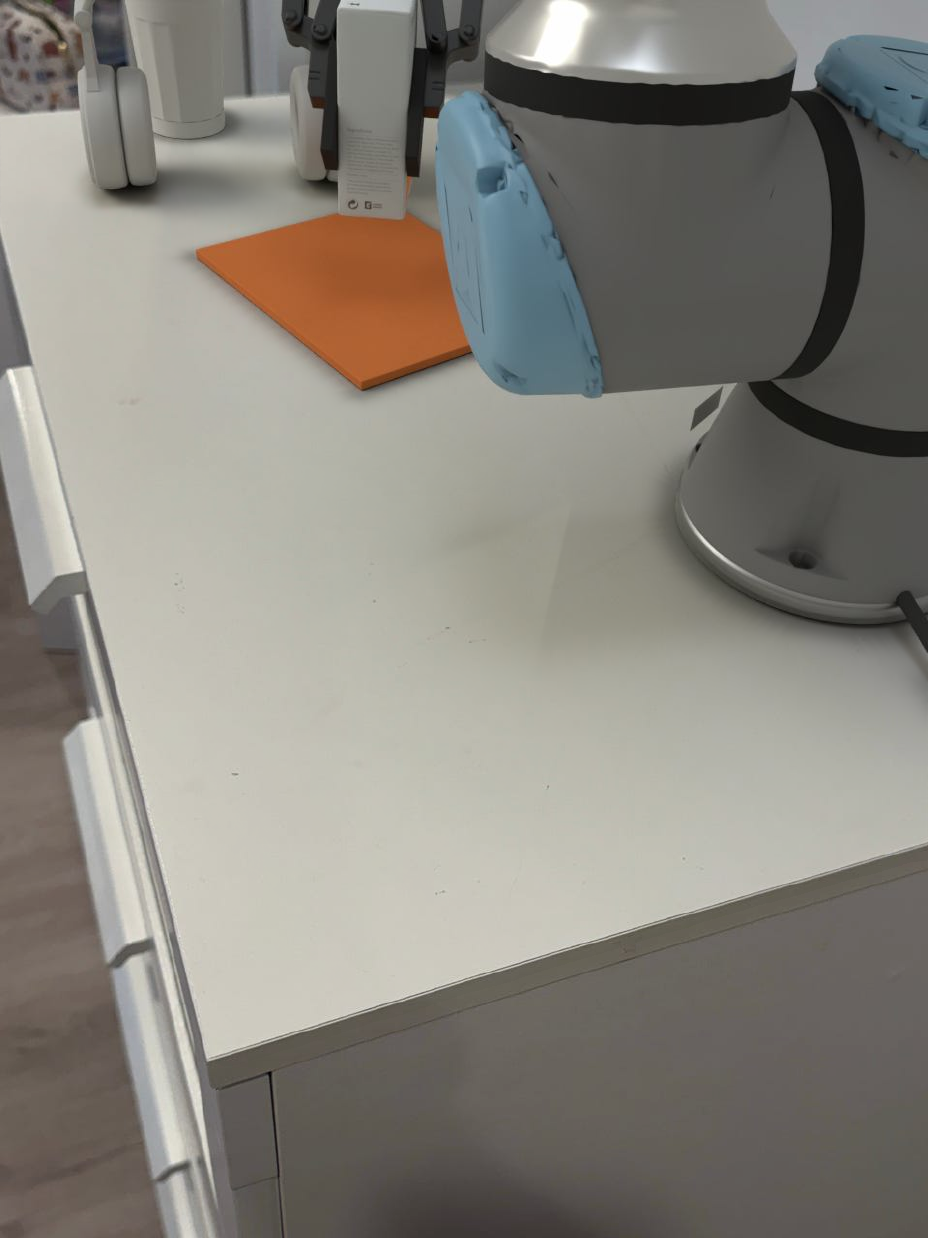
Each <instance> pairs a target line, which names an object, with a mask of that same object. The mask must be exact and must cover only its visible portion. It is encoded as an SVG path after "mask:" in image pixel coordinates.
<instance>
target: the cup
mask: <svg viewBox="0 0 928 1238" xmlns="http://www.w3.org/2000/svg"><path fill="white" fill-rule="evenodd" d="M124 3H125V9H126V13H127V18H128V25H129V29H130V34H131V40H132V45H133V49H134V54H135V60H136V65H137V66H136V67H137V68H140V69H141V70H142V71H143V72H144V74H145V76H146V79H147V85H148V93H149V101H150V109H151V118H152V127H153V133H154V134H157V135H159V136H163V137H167V138H172V139H181V140H182V139H183V140H185V139H186V140H189V139H191V140H192V139H202V138H207V137H210V136H214V135H216V134H218V133H220V132H222V131H223V130H224V129H225V127H226V114H225V68H224V67H225V65H224V64H225V60H224V59H225V55H224V54H225V52H224V51H225V49H224V48H225V47H224V46H225V44H224V42H225V38H224V37H225V34H224V33H225V31H224V30H225V29H224V23H225V22H224V19H225V18H224V14H225V0H124Z"/></svg>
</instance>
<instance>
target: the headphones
mask: <svg viewBox="0 0 928 1238" xmlns="http://www.w3.org/2000/svg"><path fill="white" fill-rule="evenodd" d="M95 1H96V0H74V7H73V8H74V9H73V22H74V24H75V26H76V27H77V28H79V29H80V35H81V36H80V37H81V43H82V52H83V53H82V54H83V59H84V60H83V61H84V65H83V66H82V68H81V69H80V70H78V71H77V91H78V93H77V94H78V104H79V115H80V123H81V129H82V138H83V143H84V151H85V155H86V161H87V165H88V166H87V167H88V171H89V176H90V179H91V182H92V183H93V184H94V185H96V186H97V187H98V188H99V189H104V190H118V189H123V188H126V187H127V186H128V183H131V185H132V186H137V187H138V186H140V187H141V186H149V185H153V184H154V183H156V181H157V177H158V168H157V167H158V166H157V155H156V147H155V146H156V145H155V137H154V132H153V127H152V118H151V109H150V101H149V93H148V85H147V79H146V76H145V74H144V72H143V71H142V70H141V69H140V68H138V67H137V66H136V67H135V66H120V67H118V68H117V70H116V72H115V69H114V68H113V66H112V65H109V64H105V63H104V64H103V63H99V59H98V55H97V49H96V44H95V38H94V32H93V26H92V25H93V10H94V7H93V6H94V5H93V4H94V3H95ZM308 74H309V64H302V65H298V66H295V67H294V68H293V69H292V71H291V75H290V80H289V113H290V115H289V116H290V129H291V140H292V150H293V156H294V161H295V167H296V170H297V172H298V175H299V176H300V178H301V179H303V180H306V181H321V180H324V179H325V178H327V180H328V181H330V182H335V183H338V171H336V170H325V167H324V163H323V159H322V156H321V152H320V145H321V133H322V122H323V110H324V109H317V108H313V107H312V104H311V101H310V97H309V93H308V89H307V85H308Z"/></svg>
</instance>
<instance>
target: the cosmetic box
mask: <svg viewBox="0 0 928 1238" xmlns="http://www.w3.org/2000/svg"><path fill="white" fill-rule="evenodd" d="M418 4H419V1H418V0H341V1H340V4H339V6H338V9H337V86H338V90H337V93H338V182H337V189H338V190H337V192H338V193H337V195H338V199H337V200H338V203H337V205H338V211H337V213H339V214H340V215H343V216H354V217H369V218H382V219H394V220H403V219H404V218H405V212H407V211H406V210H407V205H408V198H409V195H410V191H411V188H412V183H413V177H408V176H407V172H406V162H405V152H406V140H407V128H408V116H409V104H410V92H411V80H412V68H413V56H414V47H415V48H417V39H418V38H417V37H418Z"/></svg>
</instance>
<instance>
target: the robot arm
mask: <svg viewBox="0 0 928 1238" xmlns="http://www.w3.org/2000/svg"><path fill="white" fill-rule="evenodd" d="M340 1H341V0H319V2H318V4H317V8H316V10H315V14H314V17H311V16H309V15H310V14H309V12H310V0H281V11H280V12H281V14H280V15H281V16H280V17H281V21H282V26H283V28H284V32H285V36H286V40H287V42H288V43H289V45H290V46H291V47H293V48H304V49H306V50H307V51H308V52H309V63H308V65H309V74H308V85H307V89H308V93H309V97H310V101H311V104H312V107H313V108H317V109H324V110H323V122H322V133H321V145H320V152H321V156H322V159H323V163H324V167H325V170H336V171H338V93H337V90H338V86H337V9H338V6H339V4H340ZM419 3H420V8H421V9H420V10H421V18H422V25H423V33H424V40H425V47H416V48H415V47H414V56H413V68H412V80H411V92H410V104H409V116H408V128H407V140H406V152H405V162H406V172H407V176H408V177H412V178H420V174H421V164H422V163H421V162H422V152H423V151H422V150H423V140H424V139H423V137H424V128H425V127H424V126H425V119H434V120H435V119H436V120H437V124H436V125H437V126H436V128H437V140H436V142H435V147H434V148H435V150H434V172H435V173H434V174H435V186H436V187H435V189H436V201H437V208H438V216H439V217H438V219H439V225H440V232H441V234H442V239H443V245H444V251H445V257H446V262H447V267H448V272H449V277H450V281H451V286H452V290H453V294H454V298H455V302H456V306H457V310H458V313H459V317H460V320H461V323H462V326H463V329H464V332H465V335H466V338H467V340H468V343H469V345H470V347H471V350H472V352H471V353H472V355H473V356H474V358H475V360H476V362H477V363H478V366H479V367H480V369H481V370H482V371H483V372H484V374H485V375H486V377H488V379H490V381H491V382H492V383H493V384H495V385H496V386H498V387H499V388H501V390H504V391H506V392H508V393H512V394H515V395H519V396H558V395H559V396H560V395H563V396H564V395H581V396H583V397H584V398H587V399H598V398H602V396H603V395H604V394H605V395H606V394H618V393H619V394H620V393H631V392H643V391H654V390H655V391H656V390H667V389H680V388H690V387H691V388H692V387H705V386H715V385H716V386H718V385H722V386H721V387H719V388H718V390H716V391H715V392H714V393H713V394H711V395H710V396H709V397H707V398H706V400H704V401H703V402H702V403H700V404H699V405H698V406H697V407H696V408H694V412H693V416H692V421H691V426H690V430H689V431H690V432H691V431H693V430H694V429H695V428H696V427H697V426H698V425H700V424H701V423H702V422H703V421H704V420H706V419H707V418H708V417H709V416H710V415H712V414H713V413H714V412H715V411H716V410H717V409H718V408H719V406H720V403H721V398H722V394H723V390H724V385H729V384H735V386H734V387H733V388H732V390H731V392H730V393H729V395H728V397H727V398H726V400H725V402H724V403H723V405H722V407H721V409H720V411H719V412H718V414H717V416H716V417H715V419H714V421H713V423H712V424H711V426H710V428H709V429H708V430H707V431H706V432H705V433H703V435H701V437H700V438H699V439H698V441H697V442H696V444H695V445H694V446H693V448H692V449H691V451H690V452H689V455H688V456H687V459H686V461H685V464H684V466H683V468H682V469H681V474H680V478H679V481H678V487H677V491H676V494H675V501H674V511H675V512H674V514H675V518H676V519H675V520H676V524H677V527H678V529H679V532H680V534H681V536H682V537H683V539H684V541H685V543H686V544H687V546H688V547H689V549H690V550H691V551H692V552H693V554H694V555H695V556H696V557H697V559H698V560H699V561H700V562H701V563H703V564H704V565H705V567H706V568H707V569H709V570H710V571H711V572H712V573H713V574H715V575H716V576H717V577H719V578H720V579H721V580H723V581H724V582H725V583H726V584H728V585H730V586H731V587H733V588H734V589H737V591H739V592H741V593H743V594H745V595H747V596H749V597H751V598H753V599H754V600H756V601H758V602H761V603H764V604H766V605H768V606H771V607H774V608H776V609H779V610H781V611H784V612H787V613H791V614H794V615H797V616H801V617H805V618H809V619H814V620H819V621H824V622H830V623H838V624H839V623H840V624H850V625H854V624H855V625H879V624H889V623H897V622H900V621H905V620H906V621H908V623H909V625H910V627H911V628H912V630H913V632H914V633H915V635H916V637H917V639H918V640H919V642H920V643H921V645H922V647H923V648H924V650H925V652H926V653H927V654H928V618H927V617H926V615H925V614H927V613H928V42H925V41H919V40H914V39H908V38H903V37H896V36H889V35H877V34H855V35H850V36H847V37H846V38H840V39H838V40H835V41H834V42H832V43H831V44H830V45H828V47H827V48H826V50H825V53H824V55H823V57H822V60H821V61H820V62H819V63H817V64H816V65H815V68H814V72H813V76H814V79H815V81H816V84H815V86H814V88H812V89H805V90H804V89H803V90H793V86H794V79H795V74H796V68H797V62H798V56H799V55H798V51H797V49H796V48H795V47H794V45H793V44H792V42H791V41H790V39H789V38H788V36H787V35H786V34H785V32H784V31H783V29H782V28H781V26H780V25H779V24H778V22H777V21H776V20H775V18H774V16H773V15H772V13H771V12H770V10H769V7H768V3H767V0H518V1H517V2H516V3H515V4H514V5H513V7H511V9H509V11H507V13H506V14H505V15H504V16H503V17H502V18H501V19H500V20H499V21H498V22H497V23H496V25H495V26H493V28H492V29H491V30H490V31H489V32H488V33H487V34H486V38H485V45H484V67H483V68H484V69H483V70H484V71H483V84H482V90H481V93H480V92H479V91H475V90H466V91H464V92H462V93H461V94H460V96H456V97H453V98H451V99H450V100H448V101H447V102H446V103H445V101H446V100H445V99H446V98H445V97H446V88H447V87H446V86H447V75H448V70H449V68H450V66H451V65H452V64H454V63H456V62H460V61H463V62H465V63H472V62H474V61H476V59H478V57H479V54H480V44H481V36H482V25H483V16H484V6H485V0H461V7H460V17H459V25H458V28H457V27H456V28H454V29H450V30H447V23H446V22H447V21H446V14H445V8H444V0H419Z"/></svg>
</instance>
